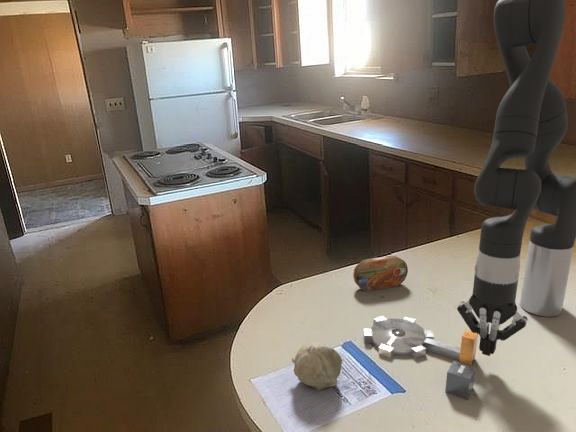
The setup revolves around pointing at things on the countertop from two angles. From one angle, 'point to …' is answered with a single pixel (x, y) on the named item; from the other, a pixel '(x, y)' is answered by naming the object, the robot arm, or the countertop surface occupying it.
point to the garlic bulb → (317, 365)
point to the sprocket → (397, 336)
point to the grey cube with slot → (460, 380)
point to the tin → (380, 273)
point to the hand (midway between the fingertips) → (486, 353)
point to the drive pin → (456, 348)
